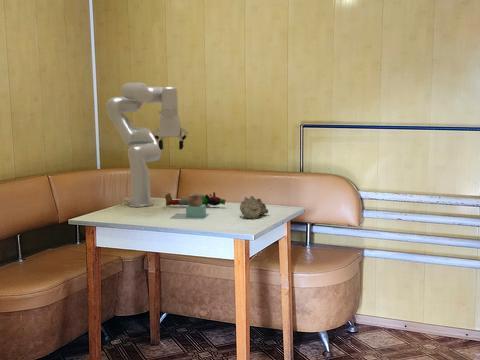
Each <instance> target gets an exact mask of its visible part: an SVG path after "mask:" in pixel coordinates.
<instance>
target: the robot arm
mask: <svg viewBox="0 0 480 360" xmlns="http://www.w3.org/2000/svg"><path fill="white" fill-rule="evenodd" d="M120 93H121V96H113V97H111V98H109V99H108V100H107V102H106V104H105V105H106V113H107V114H106V115H107V117H108V118H109V120H110V121H111V123H112V124H113V126H115V128H116V130H117V132H118V134H119V136H120V137H121V140H122V141H123V143H124V144H125V146H128V149H127V157H128V162H129V168H130V186H131V189H130V190H131V196H130V197H129V196H125V197H124V201H125V202H129V203H128V206H129V207H133V208H144V207H145V208H146V207H152V206H154V204H155V203H154V201H152V200H151V183H150V179H151V178H150V177H151V176H150V170H149V167H148V166H147V164H146V163H149V162H156V161H158V160H160V159H161V156H162V150H164V142H163V139H164V138H178V140H179V141H178V148H179V149H178V150H183V148H184V141H185V140H186V139H187V137H188V135H189V131H188V130H186V129H184V128H182V124H181V123H182V122H181V118H180V115H179V114H178V113H179V109H178V106H179V105H178V90H177V87H175V86H148V85H147V84H146V83H144V82H126V83H124V84H123V85H122V86H121V88H120ZM145 103H146V104H151V103H152V104H155V103H157V104H158V103H161V109H160V110H159V111H158V114H159V115H161V116H159V127H158V129H156V130H154V131H152V130H151V129H150V128H148V127H145V126H142V127H141V126H140V127H137V126H135V125H134V123H133V122H132V120H131V119H130V118H129V117H128V116H127V115H125V114H129V113H130V114H131V113H132V114H133V113H137V112H139V110H140V109H141V108H142V106H143V105H144V104H145ZM183 133H184V134H183ZM182 134H183V135H182Z"/></svg>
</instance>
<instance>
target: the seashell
mask: <svg viewBox="0 0 480 360" xmlns="http://www.w3.org/2000/svg"><path fill="white" fill-rule="evenodd" d="M239 210H240V212H241V214H242V215H243V216H244V217H245V218H247V219H250V218H251V219H253V220H254V219H257V218H259V216H260V215H264V214H269V209H268V208H267V206H266V204H265V203H264V202H263V201H262V200H261V198H255V197H254V196H253V195H251V196H250V197H247V196H245V197H244V199H243V200H242V201H241V203H240V204H239Z"/></svg>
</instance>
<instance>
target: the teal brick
mask: <svg viewBox="0 0 480 360" xmlns="http://www.w3.org/2000/svg"><path fill="white" fill-rule="evenodd" d="M185 208H186V212H185V214H186V217H199V218H203V217H205V216H206V214H207V207H206V205H201V206H200V207H189V205H185Z"/></svg>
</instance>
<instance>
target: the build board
mask: <svg viewBox="0 0 480 360" xmlns="http://www.w3.org/2000/svg"><path fill="white" fill-rule="evenodd" d="M208 216H210V213H206V216H205V217H203V218H199V217H186V213H176V214H174V215H172V216H171V217H170V218H169V220H170V219H171V220H204V219H206V218H207V217H208Z"/></svg>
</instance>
